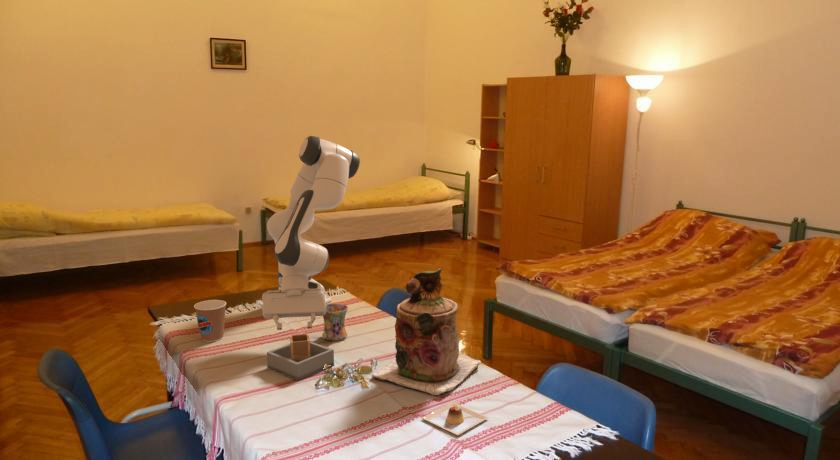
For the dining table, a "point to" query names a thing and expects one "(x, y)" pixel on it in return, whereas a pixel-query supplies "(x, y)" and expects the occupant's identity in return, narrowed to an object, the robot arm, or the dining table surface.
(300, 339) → the square wooden cup
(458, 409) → the dessert
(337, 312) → the mug
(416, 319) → the cookie jar
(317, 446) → the dining table surface
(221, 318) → the coffee cup
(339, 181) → the robot arm
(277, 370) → the grey crate
